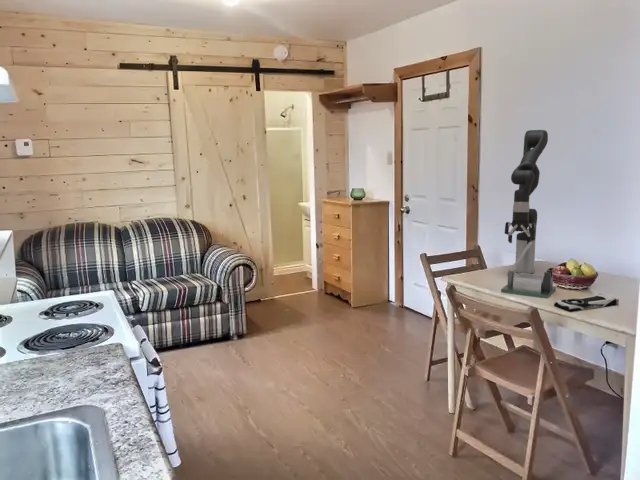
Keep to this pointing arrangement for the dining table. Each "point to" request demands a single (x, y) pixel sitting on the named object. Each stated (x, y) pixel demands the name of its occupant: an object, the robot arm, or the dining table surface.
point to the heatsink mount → (530, 284)
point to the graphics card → (586, 303)
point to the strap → (520, 257)
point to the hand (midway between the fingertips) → (519, 243)
